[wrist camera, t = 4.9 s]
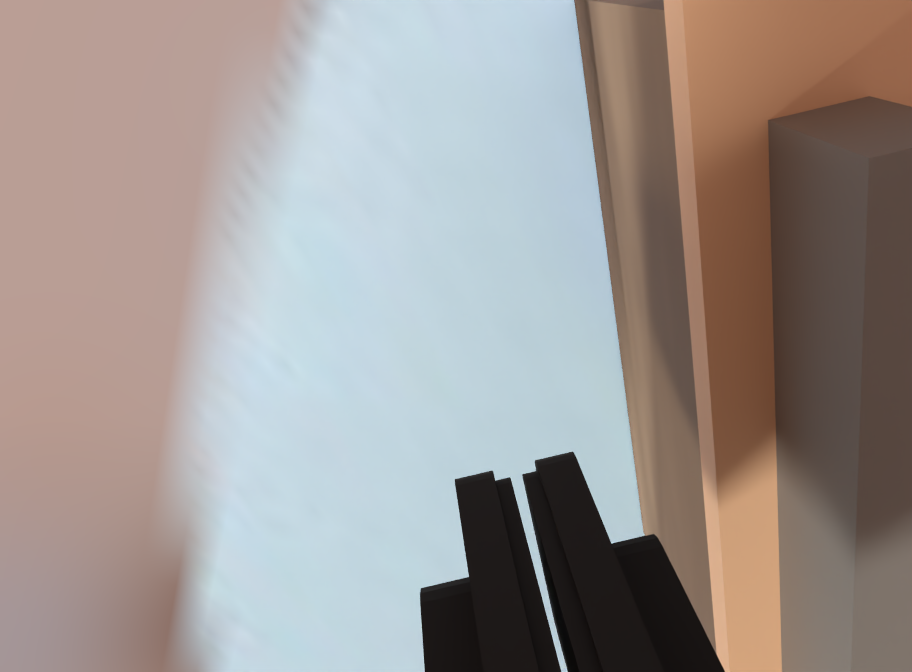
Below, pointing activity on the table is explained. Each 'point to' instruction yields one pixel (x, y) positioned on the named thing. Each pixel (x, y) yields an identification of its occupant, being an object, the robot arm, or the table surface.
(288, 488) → the table surface
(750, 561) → the lid
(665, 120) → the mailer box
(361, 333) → the table surface
